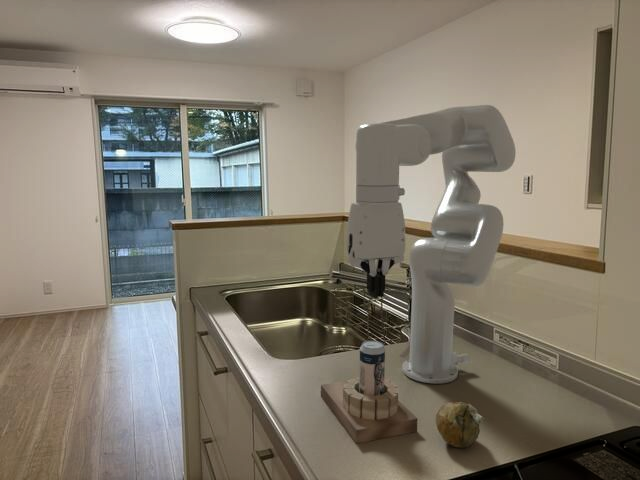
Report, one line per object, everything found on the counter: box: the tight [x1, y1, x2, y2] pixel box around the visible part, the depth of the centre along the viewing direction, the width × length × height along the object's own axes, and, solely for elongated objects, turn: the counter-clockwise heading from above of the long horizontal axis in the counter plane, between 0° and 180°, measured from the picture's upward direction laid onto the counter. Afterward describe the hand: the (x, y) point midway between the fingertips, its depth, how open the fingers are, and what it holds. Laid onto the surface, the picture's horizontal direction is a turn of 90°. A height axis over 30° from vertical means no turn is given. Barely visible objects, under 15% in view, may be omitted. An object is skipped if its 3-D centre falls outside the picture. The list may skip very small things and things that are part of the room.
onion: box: [435, 401, 485, 449], centre depth 82 cm, size 8×8×8 cm
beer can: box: [358, 340, 386, 396], centre depth 89 cm, size 5×5×12 cm
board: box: [320, 376, 419, 444], centre depth 91 cm, size 12×18×6 cm, turn 20°
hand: (375, 295), depth 87 cm, fingers closed
